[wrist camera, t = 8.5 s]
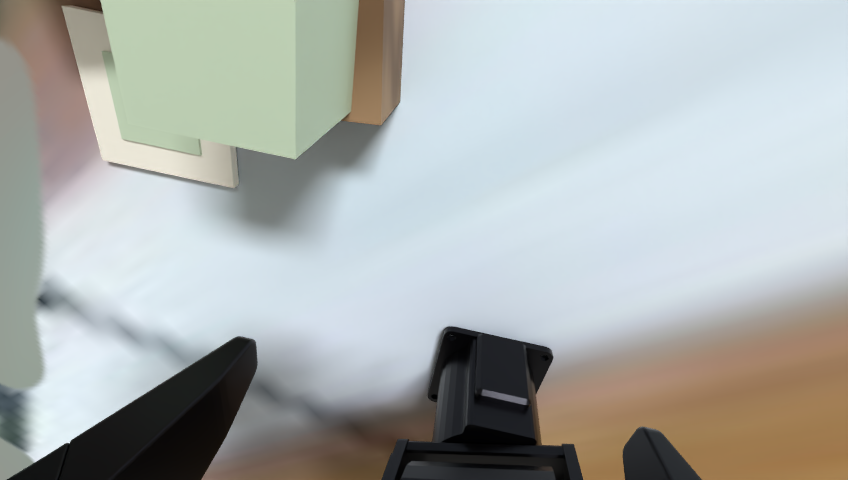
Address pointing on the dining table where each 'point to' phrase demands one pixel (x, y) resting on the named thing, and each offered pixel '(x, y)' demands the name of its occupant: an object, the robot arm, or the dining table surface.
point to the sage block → (236, 68)
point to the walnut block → (377, 61)
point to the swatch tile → (131, 140)
